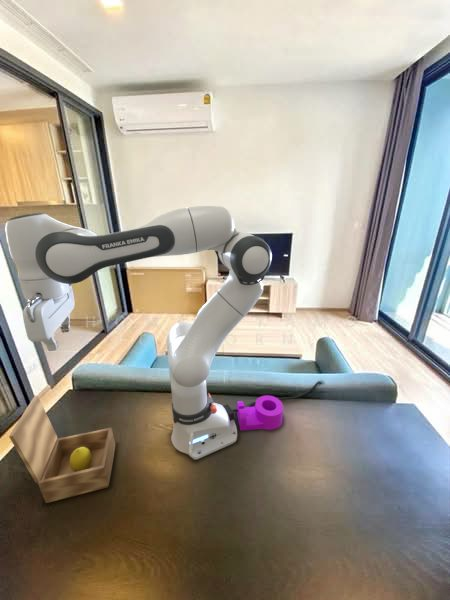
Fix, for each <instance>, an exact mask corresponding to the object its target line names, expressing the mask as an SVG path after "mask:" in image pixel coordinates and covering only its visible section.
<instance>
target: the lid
mask: <svg viewBox="0 0 450 600" xmlns="http://www.w3.org/2000/svg"><path fill="white" fill-rule="evenodd" d="M22 413H23V414H22V415H21V417H20V418H19V419H18V421H17V423H16V424H15V426H14V427H13V429H12V430H11V432H10V434H9V436H8V438H9V439H10V441H11V443H12V445H13V446H14V449H15V450H16V451H17V454H18V455H19V457H20V459H21V460H22V462H23V464H24V465H25V467H26V469H27V471H28V472H29V474H30V475H31V477H32V479H33V481H34V483H35V484H36V483H37V484H38V482H39V480H40V478H41V476H42V473H43V471H44V468H45V466H46V464H47V461H48V459H49V457H50V454H51V452H52V449H53V447H54V445H55V442H56V440H57V439H58V435H57V433H56V431H55V429H54V427H53V424H52V422H51V421H50V418H49V417H48V415H47V413H46V410H45V408H44V406H43V403H42V402H41V400H40V398H39V396H38V395H34V396H33V397H32V399H31V401H30V402H29V404H28V405H27V407H26V409H25V410H24V412H22Z"/></svg>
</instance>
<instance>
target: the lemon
mask: <svg viewBox="0 0 450 600" xmlns="http://www.w3.org/2000/svg"><path fill="white" fill-rule="evenodd" d="M91 461H92V454H91V452H90V450H89V449H88V448H86V447H79V448H77V449H76V450H74V451H73V453H72V454H71V457H70V466H71V468H72V470H73V471H75V472H77V471H82V470H86V469H87V468H88V467H89V466H90V464H91Z"/></svg>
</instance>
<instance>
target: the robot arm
mask: <svg viewBox="0 0 450 600" xmlns="http://www.w3.org/2000/svg"><path fill="white" fill-rule="evenodd" d="M5 236H6V242H7V245H8V250H9V253H10V257H11V259H12V262H14V264H15V265H16V268H17V279H18V283H19V285H20V289H21V292H22V295H23V298H24V299H25V300H27V301H26V304H27V305H26V306H25V307H24V309H22V318H23V324H24V329H25V332H26V336H27V339H28V340H29V341H30V342H31V343H36V342H37V343H39V342H42V343H43V344H45V346H46V349H47V351H48V352H55V351H57V349H58V348H59V342H58V340H55V333H56V331H57V330H58V329H59V328H60V331H61V333H69V332H70V331H71V324H70V323H71V316H70V315H71V313H72V311H73V310H74V309H75V305H76V302H75V295H74V291H73V290H74V289H73V287H72V285H75V284H78V283H81V282H83V281H86V280H87V279H88V278H89V277H91V276H92V275H93V274H95V273H97V272H98V271H100V270H102V269H105V268H108V267H112V266H117V265H122V264H125V263H130V262H135V261H138V260H145V259H148V258H157V257H169V256H171V257H173V256H183V255H189V254H191V255H192V254H195V253H201V252H204V251H214V253H215V255H216V257H217V259H218V260H219V261H220V263H221V264H222V265H223V266H224V267H225V268H226V269H227V270H228V272H229V273H228V275H227V276H228V277H227V278H226V280H225V281H224V283H223V284H222V285H221V286H220V287H219V288H218V289H217V290H216V291H215V292H214V293H213V294H212V296H210V298H209V299H208V300H207V301H206V302H205V303H204V304H203V305H202V306H201V307H200V308H199V310H198V312H197V314H196V316H195V319H194V320H193V323H190V322H188V321H179V322H176V323H174V324H173V325H172V326H171V327H170V328H169V330H168V333H167V336H166V351H167V361H168V371H169V382H170V390H171V398H172V399H171V400H172V402H171V416H172V421H173V428H172V431H171V437H170V438H171V443H172V446H173V447H174V448H175V449H176V450H177V451H178V452H180V453H183V454H186V455H188V456H189V457H190V458H191V459H192V460H197V461H198V460H199V459H202V458H203V457H207V456H208V455H211V454H212V453H215V452H218V451H220V450H221V449H224V448H226V447H228V446H230V445H232V444H235V443H236V442H237V440H238V429H237V425H236V422H235V413H237V412H238V410H237V408H235V409H232V408H231V406H230V405H229V404H228V403H226V404H223V405H222V404H220V403H217V402H214V399H213V398H212V396H211V393H209V392H208V389H207V378H208V376H209V374H210V369H211V366H212V363H213V361H214V359H215V356H216V355H217V353H218V352H219V349H220V348H221V346H222V345H223V342H224V341H225V339H226V338H227V336H228V335H229V334H230V333H231V332H232V331H233V330H234V329H235V328H236V327H237V325H238V324H239V323H240V322H241V321H242V320H243V319H244V318H245V317H246V316H247V315H248V314H249V312H250V311H251V310H252V309H253V308H254V306H255V305H256V303H257V302H258V301H259V299H260V297H261V296H262V295H263V293H264V284H263V280H264V279H265V277H266V274H267V273H268V271H269V269H270V267H271V265H272V260H273V254H272V253H273V252H272V249H271V248H270V246H269V244H268V243H267V242H266V241H265V240H264V239H262V238H261V237H259V236H256V235H254V234H251V233H249V232H244V231H239V230H237V229H236V227H235V221H234V217H233V216H232V213H231V211H229V210H228V209H227V208H226V207H224V206H221V205H198V206H197V205H196V206H188V207H182V208H178V209H173V210H170V211H167V212H164V213H162V214H159V215H158V216H157V217H155V218H153V219H152V220H150V221H149V222H147V223H146V224H143V225H141V226H138V227H135V228H133V229H128V230H122V231H116V232H111V233H106V234H97V233H96V232H94V231H93V230H90V229H87V228H83V227H79V226H74V225H70V224H69V223H68V224H67V223H64V222H62V221H59V220H57V219H55V218H53V217H51V216H50V215H48V213H43V212H34V213H26V214H22V215H17V216H14V217H11V218H9V219H8V221H6V223H5ZM319 384H322V381H317V382H316V383H315V384H314V385H313V386H312V387H311V388H310V389H308V390H307V391H305V392H303V393H300V394H298V395H295V396H288V397H287V396H285V397H276V398H277V399H279V400H280V401H283V400H284V401H285V400H295V399H298V398H301V397H303V396H306V395H307V394H309V393H311V392H312V391H313V390H314V389H315V388H316V387H317V386H318V385H319ZM255 403H256V400H255V401H254V402H252V403H251V404H250V405H249V406H248V407H254V406H255Z"/></svg>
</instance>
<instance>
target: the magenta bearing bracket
mask: <svg viewBox="0 0 450 600" xmlns="http://www.w3.org/2000/svg"><path fill="white" fill-rule="evenodd" d="M277 398H278V397H276V396H274V395H268V394H267V395H266V394H265V395H262V396H259V397H258V398H257V399H256V400H255V401H256V403H255V404H254V406H252V407H249V406H245V403H244V401H243V400H241V401H240V400H239V401H236V409H237V410H238V412H236V415H237V420H238V425H239V430H240V431H251V430H253V431H254V430H261V429H262V430H263V429H264V430H267V431H269V430H270V431H272V430H276V429H278V428H280V426H281V425H282V423H283V413H284V405H283V402H282V400H279V399H277Z"/></svg>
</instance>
